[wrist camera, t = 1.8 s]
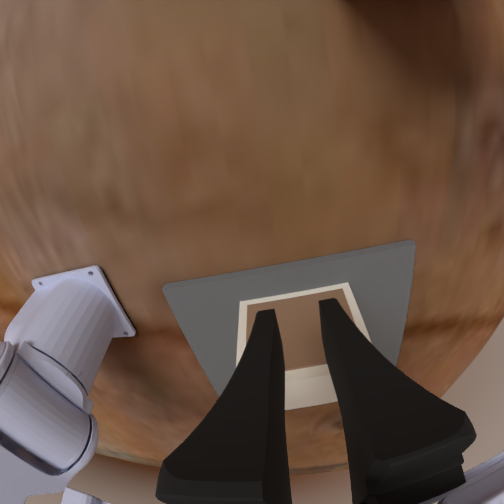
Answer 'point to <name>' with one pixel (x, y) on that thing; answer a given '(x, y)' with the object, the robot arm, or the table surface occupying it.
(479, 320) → the table surface
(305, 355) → the cream slab
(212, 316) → the rubber mat
